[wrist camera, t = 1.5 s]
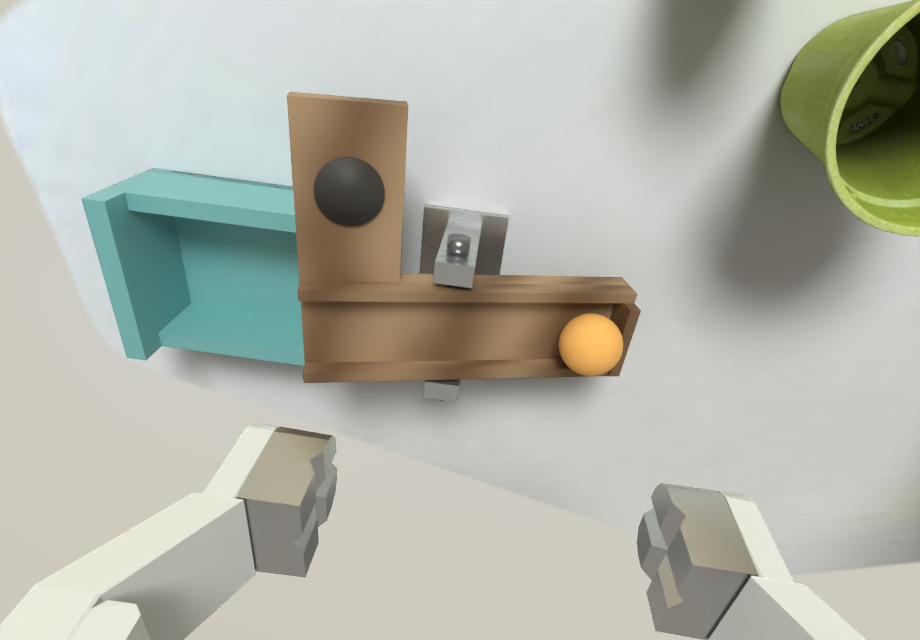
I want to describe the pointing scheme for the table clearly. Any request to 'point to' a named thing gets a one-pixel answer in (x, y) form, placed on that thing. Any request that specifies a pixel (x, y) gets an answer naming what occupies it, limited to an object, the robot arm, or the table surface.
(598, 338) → the ball
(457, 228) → the fulcrum
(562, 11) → the table surface
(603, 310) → the lever
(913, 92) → the plant pot
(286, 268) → the teal tray
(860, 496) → the table surface
